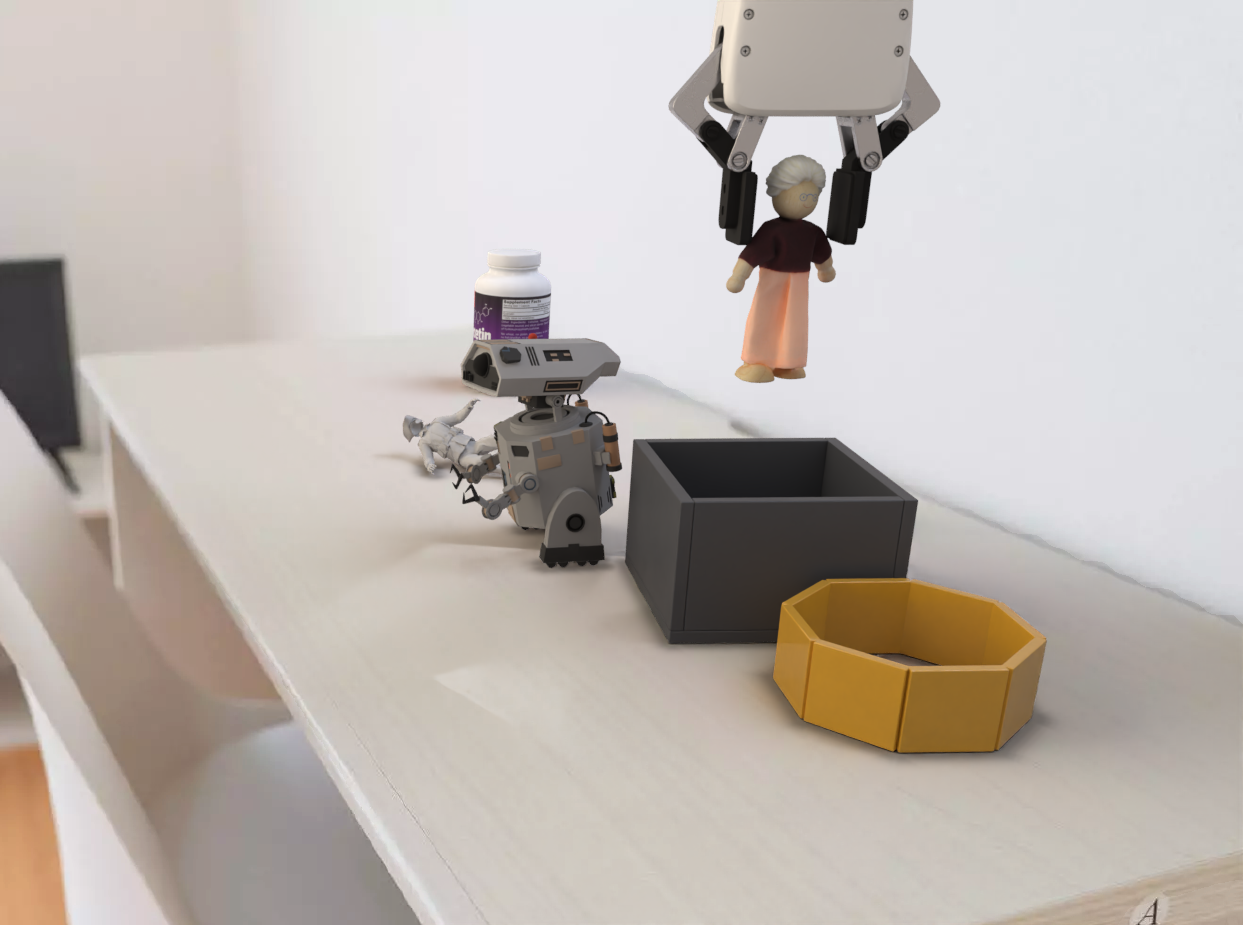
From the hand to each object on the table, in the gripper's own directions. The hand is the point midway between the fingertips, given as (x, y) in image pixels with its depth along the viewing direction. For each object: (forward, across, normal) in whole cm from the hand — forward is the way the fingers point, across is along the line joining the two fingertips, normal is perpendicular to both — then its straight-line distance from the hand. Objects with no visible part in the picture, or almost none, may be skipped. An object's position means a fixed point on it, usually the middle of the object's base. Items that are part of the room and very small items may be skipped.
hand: (789, 239), depth 74 cm
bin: (+23, 0, 0) cm, 23 cm away
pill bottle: (+23, +9, -60) cm, 65 cm away
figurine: (+23, +13, -10) cm, 28 cm away
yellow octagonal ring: (+23, -4, +14) cm, 27 cm away
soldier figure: (+23, +16, -30) cm, 41 cm away
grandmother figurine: (+8, 0, 0) cm, 8 cm away
